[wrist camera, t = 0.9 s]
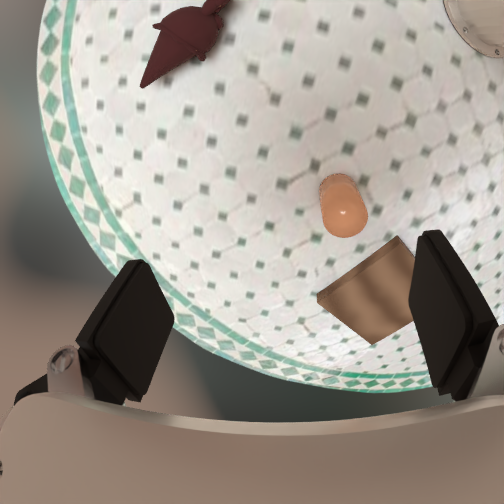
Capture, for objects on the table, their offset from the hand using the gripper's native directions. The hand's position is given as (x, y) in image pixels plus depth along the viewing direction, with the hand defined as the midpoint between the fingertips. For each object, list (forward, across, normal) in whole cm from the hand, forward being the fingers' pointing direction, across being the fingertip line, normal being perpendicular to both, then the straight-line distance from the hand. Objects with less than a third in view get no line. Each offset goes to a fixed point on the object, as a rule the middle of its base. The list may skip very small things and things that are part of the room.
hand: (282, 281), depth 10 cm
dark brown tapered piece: (+28, +9, -13) cm, 32 cm away
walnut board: (+28, -12, +28) cm, 41 cm away
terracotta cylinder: (+28, -5, +9) cm, 29 cm away
